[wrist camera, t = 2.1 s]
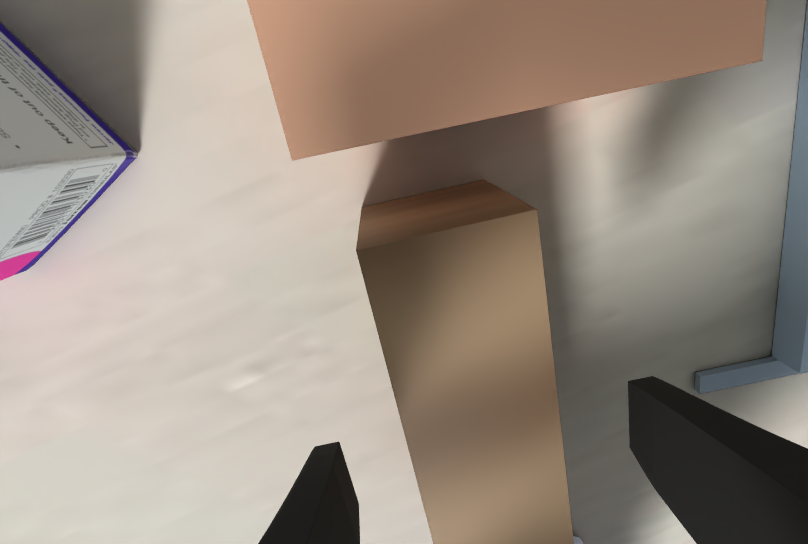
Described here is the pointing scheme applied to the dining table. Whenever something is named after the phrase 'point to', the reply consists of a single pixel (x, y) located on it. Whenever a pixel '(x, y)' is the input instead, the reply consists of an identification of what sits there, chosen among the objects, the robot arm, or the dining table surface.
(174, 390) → the dining table surface
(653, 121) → the dining table surface
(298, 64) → the pinkish tan block
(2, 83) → the supplement box
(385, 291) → the wooden block on base
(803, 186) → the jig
